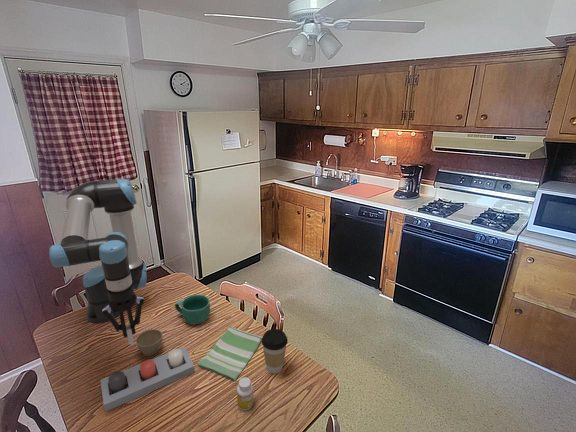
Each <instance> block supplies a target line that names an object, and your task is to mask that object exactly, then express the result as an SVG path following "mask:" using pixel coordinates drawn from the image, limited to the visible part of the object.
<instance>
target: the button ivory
mask: <svg viewBox="0 0 576 432" xmlns="http://www.w3.org/2000/svg"><path fill="white" fill-rule="evenodd" d="M168 353H169V354H168V357H169V368H170V370H171V369H174V368H176V367H178V366H181V365H183V364H185V363H184V361H183V355H182V350H180V348H174V349H172V350H170V351H169V352H168Z"/></svg>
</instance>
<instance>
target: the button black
mask: <svg viewBox="0 0 576 432" xmlns="http://www.w3.org/2000/svg"><path fill="white" fill-rule="evenodd" d="M122 371H123V370H121V371H115V372H113V373H112V374H111V375H109V376H110V377H109V378H108V381H109V386H110V389H109V391H110V393H111V394H110V395H112V394H115V393H117V392H119V391H122V390H124V389H126V388H128V383H127V382H126V379H125V375H124V372H122Z"/></svg>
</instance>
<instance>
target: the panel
mask: <svg viewBox="0 0 576 432" xmlns="http://www.w3.org/2000/svg"><path fill="white" fill-rule="evenodd" d="M179 349H180V350H182V355H183V363H184V364H183V365H181V366H178V367H176V368H174V369H170V364H169V357H168V354H169V352H167V353H164V354H163V355H160V356H157V357H154V358H151V360H153V361H154V362H155V368H156V374H157V376H155V377H152V378H150V379H148V380H145V381H142V378H141V372H140V364H141V363H139V364H137V365H135V366H132V367H130V368H127V369H124V370H121V371H122V372H124V375H125V379H126V383H127V388H126V389H124V390H122V391H119V392H117V393H115V394H110V393H111V391H110V386H109V381H108V378H109V377H110V375H109V376H107V377H104V378H101V379H100V386H101V395H102V404H103V408H104V412H109V411H110V410H113V409H115V408H117V407H120V406H122V405H125V404H127V403H128V402H131V401H133V400H135V399H138V398H140V397H142V396H144V395H147V394H149V393H151V392H153V391H155V390H158V389H161V388H162V387H165V386H167V385H169V384H171V383H173V382H176V381H179V380H180V379H182V378H185V377H187V376H189V375H191V374H192V375H193V374H195V373H196V370H195V365H194V363H193V361H192V359H191V357H190V355H189V352H188V350H187V349H186V346H182V347H180V348H179Z"/></svg>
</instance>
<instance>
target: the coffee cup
mask: <svg viewBox="0 0 576 432" xmlns="http://www.w3.org/2000/svg"><path fill="white" fill-rule="evenodd" d="M261 337H262V339H261V345H262V351H263V355H264V356H263V357H264V363H265V365H266V367H265V368H266V370H267V372H268V373H269V374H271V375H272V374H273V375H276V374H279V373H280V372H282V370H283V366H284V362H285V355H286V350H287V346H288V345H287V344H288V337H287V335H286V333H285V332H284V331H283V330H281V329H280V328H279V329H278V328H271V329H268V330H267V331H265V332H264V334H263V335H262V336H261Z"/></svg>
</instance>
